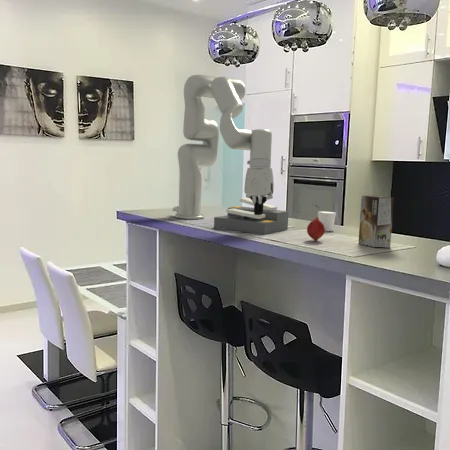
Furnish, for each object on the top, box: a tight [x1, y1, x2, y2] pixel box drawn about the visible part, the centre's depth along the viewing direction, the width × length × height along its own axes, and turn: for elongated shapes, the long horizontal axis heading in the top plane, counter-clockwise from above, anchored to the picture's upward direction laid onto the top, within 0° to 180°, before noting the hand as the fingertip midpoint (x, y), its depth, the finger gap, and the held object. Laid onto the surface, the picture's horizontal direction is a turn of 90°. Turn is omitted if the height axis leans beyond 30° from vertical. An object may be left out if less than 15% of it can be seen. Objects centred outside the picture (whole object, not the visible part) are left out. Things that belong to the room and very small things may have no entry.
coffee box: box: [358, 195, 395, 248], centre depth 164 cm, size 9×6×16 cm
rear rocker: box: [239, 197, 278, 211], centre depth 195 cm, size 14×5×1 cm, turn 56°
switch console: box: [213, 205, 290, 235], centre depth 192 cm, size 22×18×8 cm
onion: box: [306, 216, 326, 242], centre depth 169 cm, size 6×6×8 cm
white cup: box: [317, 210, 337, 232], centre depth 197 cm, size 7×7×7 cm
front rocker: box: [225, 208, 265, 219], centre depth 188 cm, size 14×5×1 cm, turn 56°
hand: (258, 214), depth 185 cm, fingers closed
